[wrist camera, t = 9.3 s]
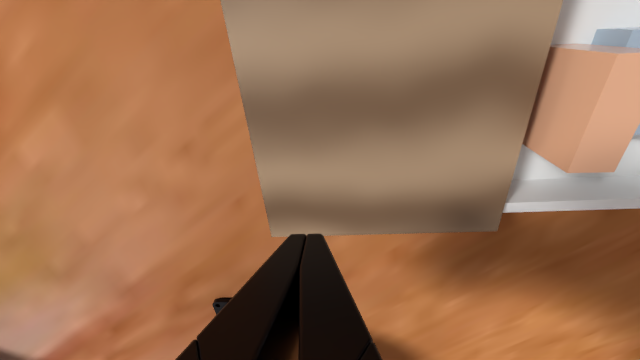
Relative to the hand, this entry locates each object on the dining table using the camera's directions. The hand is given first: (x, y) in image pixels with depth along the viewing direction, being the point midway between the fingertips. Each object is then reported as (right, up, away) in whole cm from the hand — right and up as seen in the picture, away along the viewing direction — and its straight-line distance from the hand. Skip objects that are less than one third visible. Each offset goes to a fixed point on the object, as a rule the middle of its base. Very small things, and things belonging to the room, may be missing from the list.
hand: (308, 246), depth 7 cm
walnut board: (+4, +7, +9) cm, 12 cm away
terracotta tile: (+12, +6, +6) cm, 14 cm away
